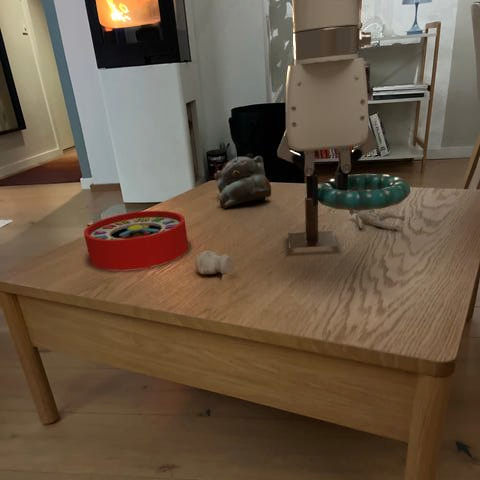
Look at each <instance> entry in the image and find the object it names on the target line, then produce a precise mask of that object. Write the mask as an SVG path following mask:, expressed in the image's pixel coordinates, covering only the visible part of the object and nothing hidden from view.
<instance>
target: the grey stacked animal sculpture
mask: <svg viewBox="0 0 480 480" xmlns="http://www.w3.org/2000/svg"><path fill="white" fill-rule="evenodd" d="M214 178H215V181H216V185H217V186H216V187H217V189H218V191H219V196H218V201H219V204H220V207H222V208H223V209H227V208H229V207H231V206H234V205H237V204H241V203H247V202H251V201H264V200H266V199H267V198H269V197H271V196H272V185H271V182H270V180H269V178H267V177H266V173H265V164H264V158H263V157H262V156H260V155H258V156H254V154H253V153H252V152H251V153H250V152H249V153H247V154H246V155H244V156H238V157H234V158H233V159H230V160H229V161H227V162H225V163H224V164H223V166H222V169H220V170H217V172H216V173H214Z"/></svg>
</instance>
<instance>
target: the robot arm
mask: <svg viewBox="0 0 480 480" xmlns="http://www.w3.org/2000/svg"><path fill="white" fill-rule="evenodd" d="M291 4H292V5H291V6H292V31H293V35H292V36H293V62H294V64H291V65H288V67H287V73H286V81H285V132H284V134H283V135H282V139H281V141H280V144H279V146H278V148H277V152H276V154H277V157H278V158H280V159H282V160H284V161H287V162H289V163H293V164H294V165H295V166H296V167H297V168H298V169H299V170H300V171H302V172H303V173H304V174H305V186H306V187H305V188H306V189H305V191H306V192H305V193H306V197H307V199H309V198H311V200H312V205H313V206H317V205H318V206H319V201H318V186H319V175H318V174H317V170H316V167H315V156H316V155H315V153H316V151H324V150H335V149H337V155H338V165H336V170H335V171H334V178H335V189H338V190H347V191H348V175H349V173H350V171H351V170H352V168H353V167H354V166H355V165H356V164H357V162H358V161H360V159H361V158H362V157H364V156H366V155H368V154H369V153H372V152H374V151H375V150H376V149H377V148H378V142H377V140H376V137H375V136H374V133H373V130H372V128H371V126H370V124H369V98H368V81H367V72H366V66H365V60H364V57H359V53H360V50H361V49H362V48H364V47H365V46H366V47H367V46H371V45H372V33H371V32H369V31H368V32H365V31H362V29H361V27H360V26H359V25H360V0H291ZM351 148H352V149H351ZM295 151H296V152H295ZM299 152H303V156H302V155H301V154H300V153H299Z"/></svg>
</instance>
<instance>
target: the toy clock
mask: <svg viewBox="0 0 480 480" xmlns="http://www.w3.org/2000/svg"><path fill="white" fill-rule="evenodd" d="M83 236H84V239H85V244H86V249H87V253H88V257H89V261H90V263H91V265H92V266H93V267H96V268H97V269H101V270H105V271H113V272H114V271H115V272H116V271H117V272H122V271H123V272H125V271H138V270H144V269H149V268H153V267H158V266H162V265H165V264H167V263H171V262H173V261H175V260H177V259H179V258H181V257H183V256H184V255H185V254H186V253H187V252H188V250H189V240H188V233H187V226H186V220H185V216H184V215H182V214H180V213H178V212H175V211H170V210H169V211H168V210H144V211H143V210H142V211H134V212H126V213H122V214H117V215H114V216H113V215H112V216H109V217H106V218H102V219H100V220H98V221H94V222H93V223H91V224H89V225H88V226H86V227H85V229H84V231H83Z"/></svg>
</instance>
